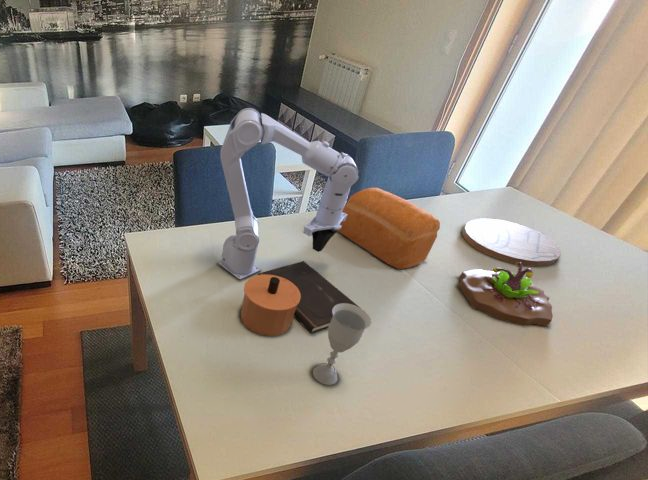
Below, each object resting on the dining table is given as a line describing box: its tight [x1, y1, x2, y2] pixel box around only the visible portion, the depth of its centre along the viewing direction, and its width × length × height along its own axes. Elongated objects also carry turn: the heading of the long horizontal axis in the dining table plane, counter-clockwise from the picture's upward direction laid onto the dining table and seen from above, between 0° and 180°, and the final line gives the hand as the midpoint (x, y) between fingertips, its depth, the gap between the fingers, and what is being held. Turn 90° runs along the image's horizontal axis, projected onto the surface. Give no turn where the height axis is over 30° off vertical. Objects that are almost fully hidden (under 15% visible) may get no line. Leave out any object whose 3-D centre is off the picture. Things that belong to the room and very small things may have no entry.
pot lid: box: [243, 274, 301, 311], centre depth 95 cm, size 13×13×5 cm
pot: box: [240, 292, 297, 337], centre depth 99 cm, size 12×12×8 cm
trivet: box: [461, 218, 562, 267], centre depth 128 cm, size 25×25×2 cm
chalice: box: [312, 303, 372, 386], centre depth 82 cm, size 7×7×18 cm
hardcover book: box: [257, 260, 361, 334], centre depth 107 cm, size 16×23×2 cm
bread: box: [338, 187, 441, 270], centre depth 123 cm, size 14×26×16 cm, turn 24°
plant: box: [458, 262, 553, 327], centre depth 103 cm, size 20×20×11 cm
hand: (317, 249), depth 109 cm, fingers closed
